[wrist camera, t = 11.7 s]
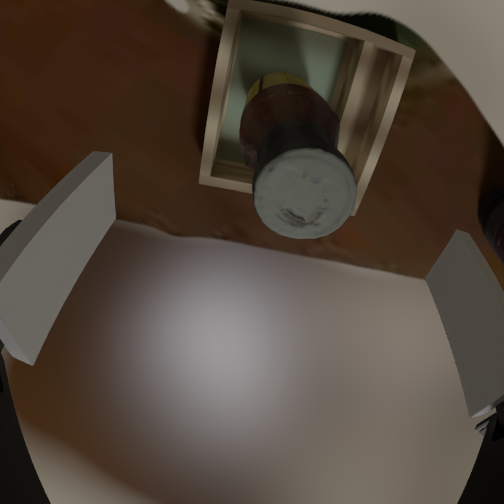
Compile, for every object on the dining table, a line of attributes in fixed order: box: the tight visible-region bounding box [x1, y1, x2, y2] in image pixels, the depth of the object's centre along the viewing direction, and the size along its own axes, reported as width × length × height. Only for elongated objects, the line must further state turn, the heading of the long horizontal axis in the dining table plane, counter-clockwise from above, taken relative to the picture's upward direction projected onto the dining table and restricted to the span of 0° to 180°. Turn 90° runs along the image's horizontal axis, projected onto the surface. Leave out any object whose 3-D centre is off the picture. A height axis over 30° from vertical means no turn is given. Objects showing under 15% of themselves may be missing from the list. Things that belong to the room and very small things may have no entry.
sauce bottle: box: [239, 72, 357, 239], centre depth 19 cm, size 6×6×20 cm
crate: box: [199, 0, 415, 216], centre depth 26 cm, size 18×16×4 cm
